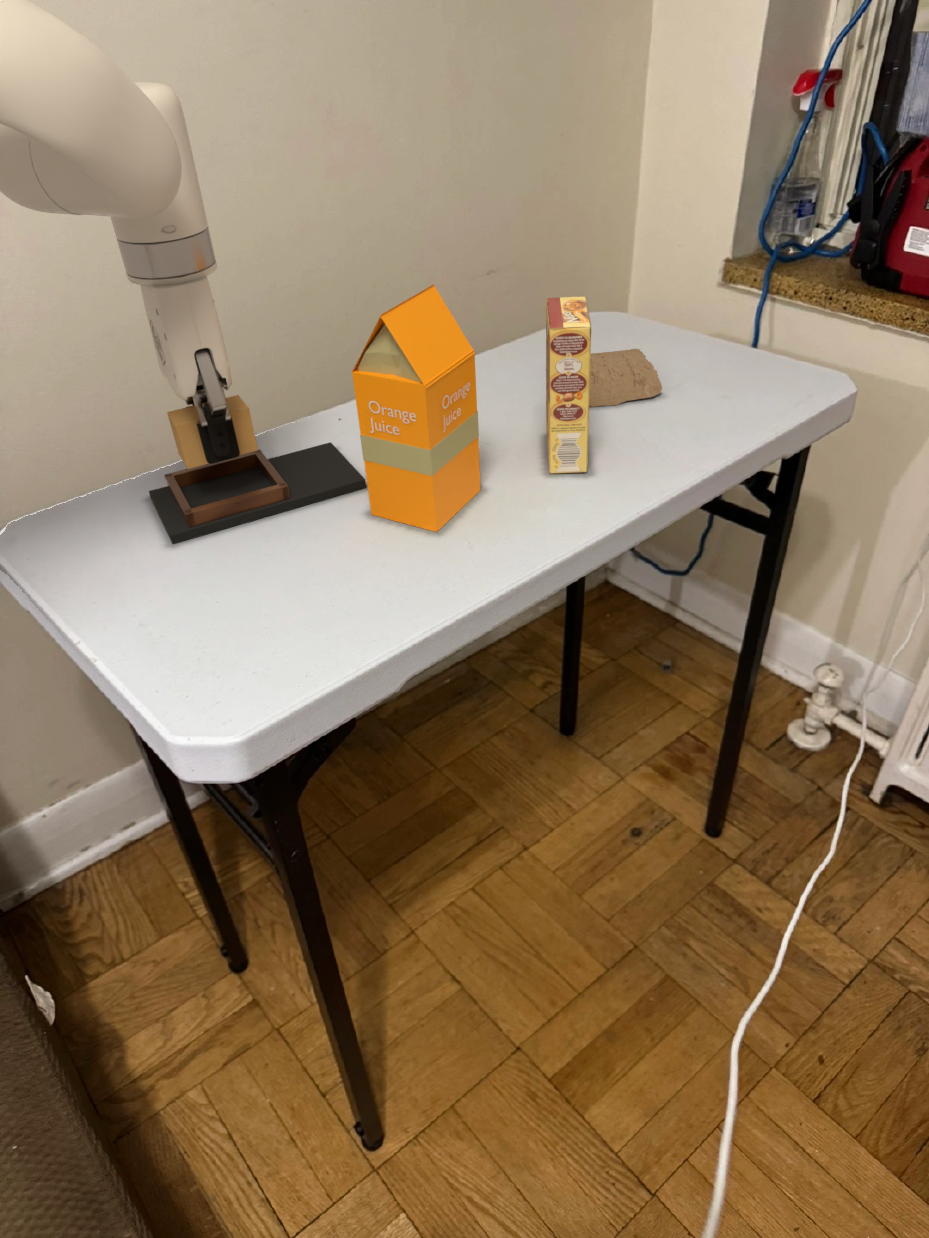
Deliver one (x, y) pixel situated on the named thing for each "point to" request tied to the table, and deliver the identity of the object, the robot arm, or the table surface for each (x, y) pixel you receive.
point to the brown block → (190, 439)
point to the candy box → (567, 383)
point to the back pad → (250, 489)
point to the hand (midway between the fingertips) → (217, 448)
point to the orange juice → (418, 414)
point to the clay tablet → (621, 378)
